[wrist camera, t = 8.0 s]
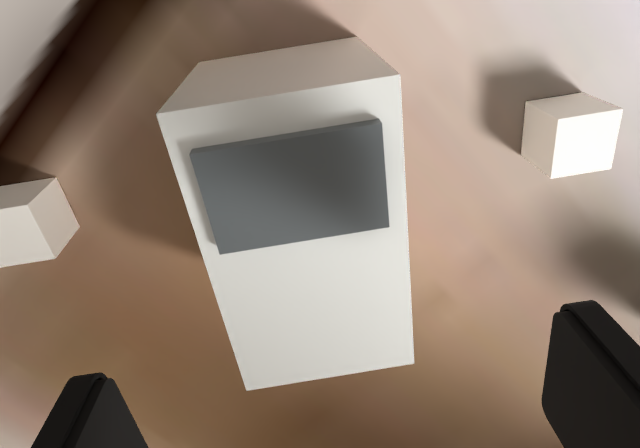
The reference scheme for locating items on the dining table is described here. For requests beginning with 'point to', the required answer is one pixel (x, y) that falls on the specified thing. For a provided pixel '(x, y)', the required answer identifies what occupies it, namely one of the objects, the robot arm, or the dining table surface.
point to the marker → (34, 222)
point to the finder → (299, 206)
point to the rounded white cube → (570, 134)
